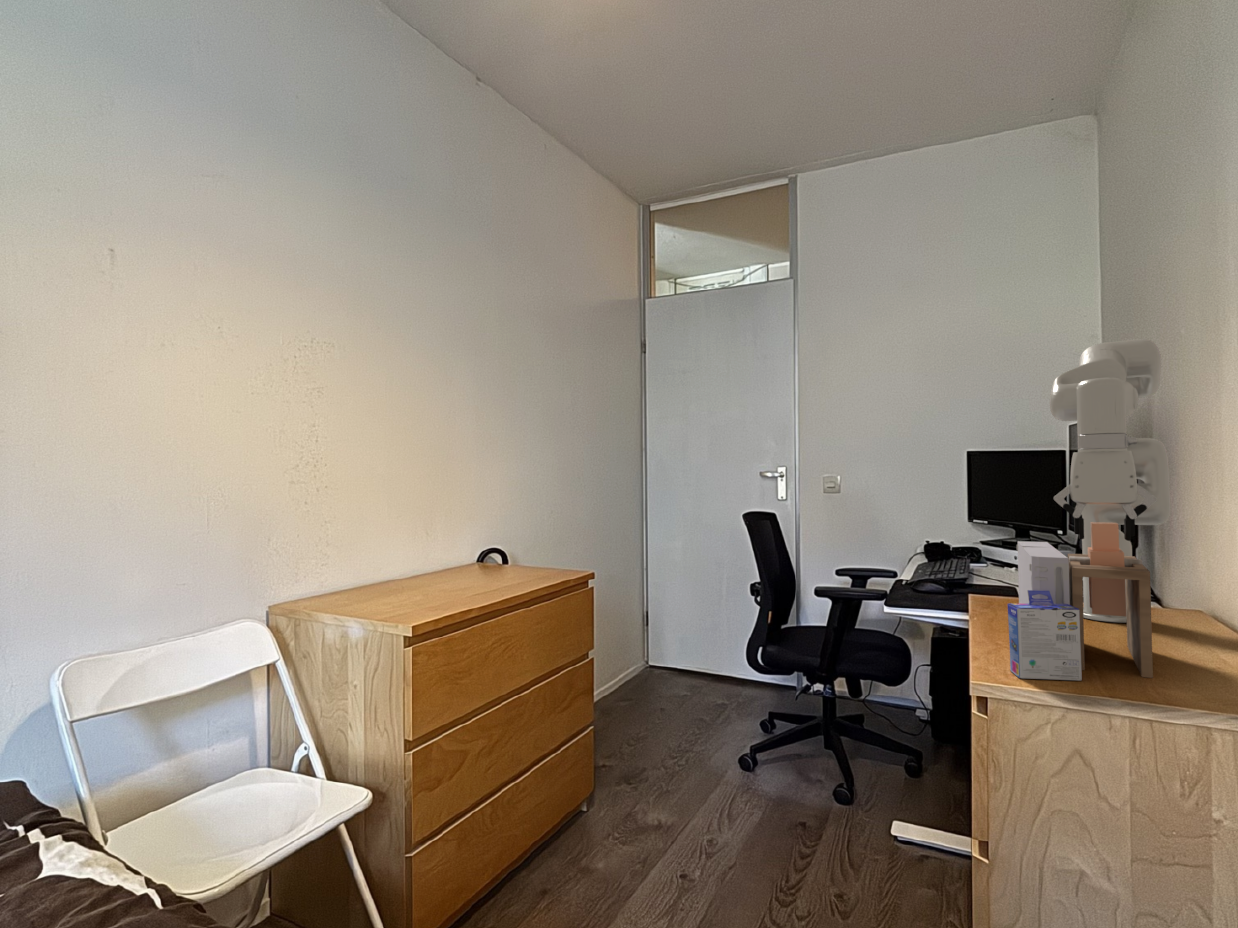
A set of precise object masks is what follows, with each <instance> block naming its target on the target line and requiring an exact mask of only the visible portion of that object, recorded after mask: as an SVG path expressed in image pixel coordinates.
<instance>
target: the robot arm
mask: <svg viewBox="0 0 1238 928" xmlns="http://www.w3.org/2000/svg"><path fill="white" fill-rule="evenodd" d="M1161 372H1162V354H1161V351H1160V349H1159V347H1158V345H1157V343H1156V342H1154V341H1152V340H1151V339H1148V338H1136V339H1126V340H1119V341H1118V340H1117V341H1106V342H1100V343H1096V344H1093V345H1091V346H1089V347H1087V348H1086V349H1084V350H1083V352H1082V353H1081V355H1080V357H1079V360H1078V366H1077V367H1074V368H1072V369H1069V370H1067V371H1065V372H1062V373H1061V374H1059V375H1058V376H1057V377H1056V378H1055V379H1054V380H1053V382H1052V385H1051V390H1050V395H1049V409H1050V412H1051V414H1052V417H1054V418H1055V419H1056V420H1058V421H1060V422H1061V421H1062V422H1076V423H1077V424H1076V426H1077V427H1076V428H1077V452H1075V451H1074V452H1072V457H1071V463H1070V464H1071V465H1070V478H1069V479H1070V480H1069V484H1068V485H1067V486H1066V487H1064V488H1063V489H1062V490H1061V491H1059V492H1058V493H1057V494H1056V495H1054V496H1053V500H1054V501H1055V502H1056V503H1057V504H1058V505H1059V506H1060V507H1062V508H1063V510H1065V511H1066V512H1067V513H1069V514H1070V515H1071V516H1072V517H1073V520H1074V523H1073V524H1074V535H1078V539H1079V540H1081V550H1082V553H1081V554H1088V547H1091V522H1097V523H1117V524H1118V526H1119V525H1122V526H1123V528H1124V529H1123V531H1124V532H1123V531H1121V529H1119V548H1120V549H1121V550H1122V551H1123V552H1124V556H1133V545H1132V537H1135V536H1136V525H1137V526H1140V525H1141V526H1158V525H1160V526H1161V525H1163V524H1165V523H1167V522H1168V521H1169V519H1170V517H1171V512H1172V511H1171V510H1172V505H1171V502H1172V501H1171V499H1172V498H1171V485H1170V467H1169V455H1168V451H1167V448H1166V446H1165V444H1164V443H1163V442H1162V441H1161V440H1159V439H1157V438H1153V437H1151V438H1150V437H1138V438H1137V437H1136V436H1129V435H1128V433H1127V432H1128V431H1127V417H1130V416H1131V415H1132V414H1133V413H1134V412H1135V410H1137V409H1138V406H1139V399H1144V398H1149V397H1152V396H1154V395H1155V394H1156V393H1157V392H1158V391H1159V387H1160V385H1161ZM1138 480H1141V481H1142V482H1143V483H1138ZM1069 495H1070V499H1071V500H1072V501H1073V502H1074V503H1076V505H1075V507H1073V506H1072V505H1071V504H1070V503H1068V502H1067V501H1066V500H1065V498H1066V497H1067V496H1069ZM1082 582H1083V619H1086V620H1087V619H1089V620H1093V621H1098V622H1099V621H1100V622H1106V623H1123V624H1125V623H1126V624H1127V612H1126V616H1113V615H1099V614H1092V608H1090V604H1089V577H1082ZM1125 593H1126V579H1125Z"/></svg>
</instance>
